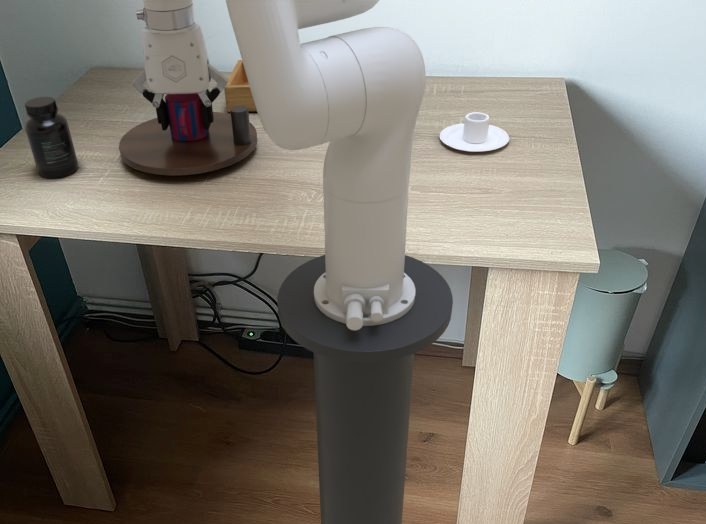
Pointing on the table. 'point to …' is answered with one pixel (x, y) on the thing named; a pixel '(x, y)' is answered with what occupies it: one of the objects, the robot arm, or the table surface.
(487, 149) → the candle holder
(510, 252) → the table surface
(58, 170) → the supplement bottle
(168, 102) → the mug
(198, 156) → the turntable
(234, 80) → the tray
